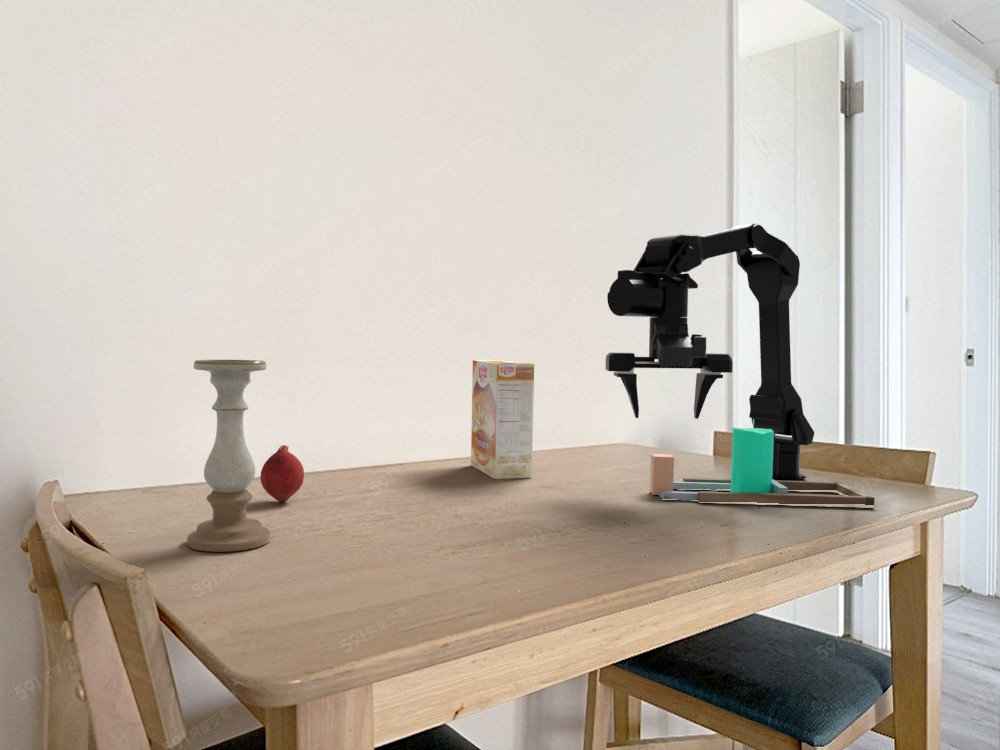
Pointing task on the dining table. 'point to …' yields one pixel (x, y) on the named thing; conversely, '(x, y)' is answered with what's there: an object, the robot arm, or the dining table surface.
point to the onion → (282, 474)
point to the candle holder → (229, 464)
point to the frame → (664, 482)
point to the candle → (752, 460)
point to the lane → (852, 493)
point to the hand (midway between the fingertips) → (666, 418)
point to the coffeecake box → (502, 418)
